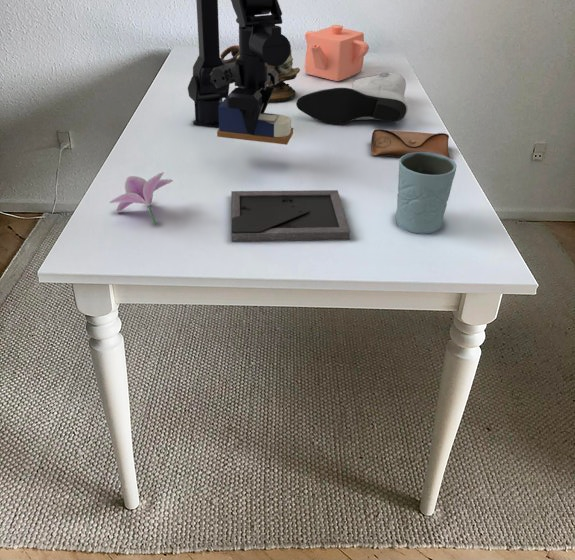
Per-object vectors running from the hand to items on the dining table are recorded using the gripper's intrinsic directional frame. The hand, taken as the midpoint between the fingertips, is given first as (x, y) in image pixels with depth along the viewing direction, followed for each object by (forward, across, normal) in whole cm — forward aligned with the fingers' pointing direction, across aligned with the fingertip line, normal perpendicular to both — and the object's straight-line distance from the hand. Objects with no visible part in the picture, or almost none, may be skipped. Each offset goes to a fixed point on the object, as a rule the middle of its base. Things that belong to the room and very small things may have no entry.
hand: (253, 128), depth 130 cm
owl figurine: (+9, -44, -8) cm, 45 cm away
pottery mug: (+9, -64, -22) cm, 68 cm away
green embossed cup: (+8, +16, +36) cm, 40 cm away
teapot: (+9, -67, +6) cm, 68 cm away
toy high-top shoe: (+1, 0, 0) cm, 2 cm away
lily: (+8, +27, -14) cm, 32 cm away
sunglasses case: (+8, -16, +33) cm, 38 cm away
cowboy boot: (+8, -40, +17) cm, 44 cm away
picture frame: (+8, +21, +12) cm, 26 cm away
